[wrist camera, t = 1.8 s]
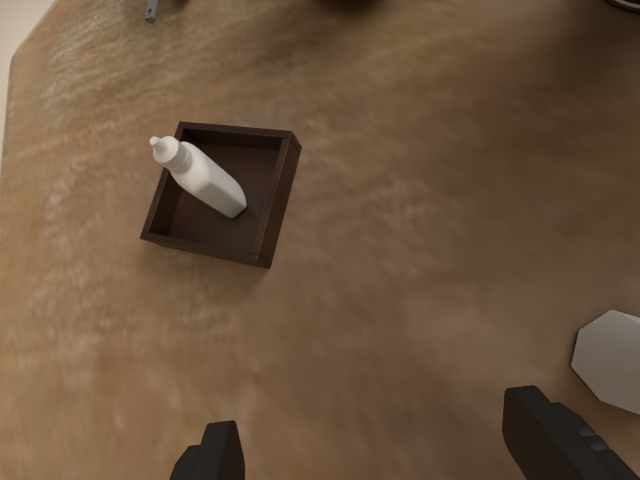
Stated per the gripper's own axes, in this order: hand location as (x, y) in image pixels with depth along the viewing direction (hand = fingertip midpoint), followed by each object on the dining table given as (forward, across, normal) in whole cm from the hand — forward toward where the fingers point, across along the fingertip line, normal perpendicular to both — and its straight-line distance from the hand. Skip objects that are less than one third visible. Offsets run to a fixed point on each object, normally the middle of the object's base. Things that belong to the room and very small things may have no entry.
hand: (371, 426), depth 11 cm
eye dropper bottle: (+31, +10, -2) cm, 32 cm away
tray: (+31, +10, -2) cm, 32 cm away
